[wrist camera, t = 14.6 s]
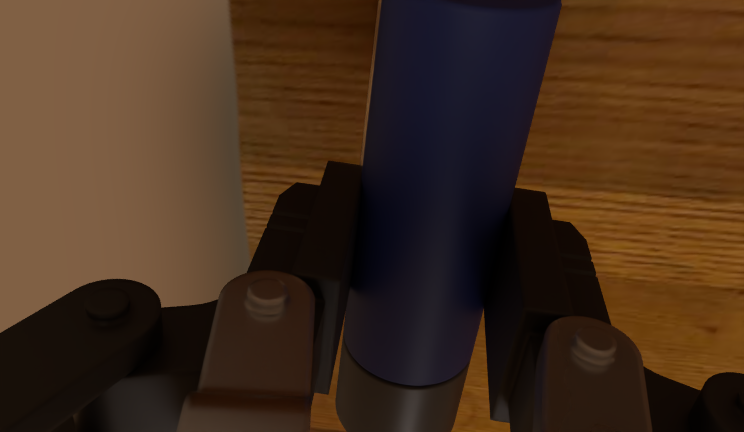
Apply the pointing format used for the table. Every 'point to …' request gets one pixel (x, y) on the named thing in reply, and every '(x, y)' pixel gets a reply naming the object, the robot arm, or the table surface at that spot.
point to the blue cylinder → (435, 200)
